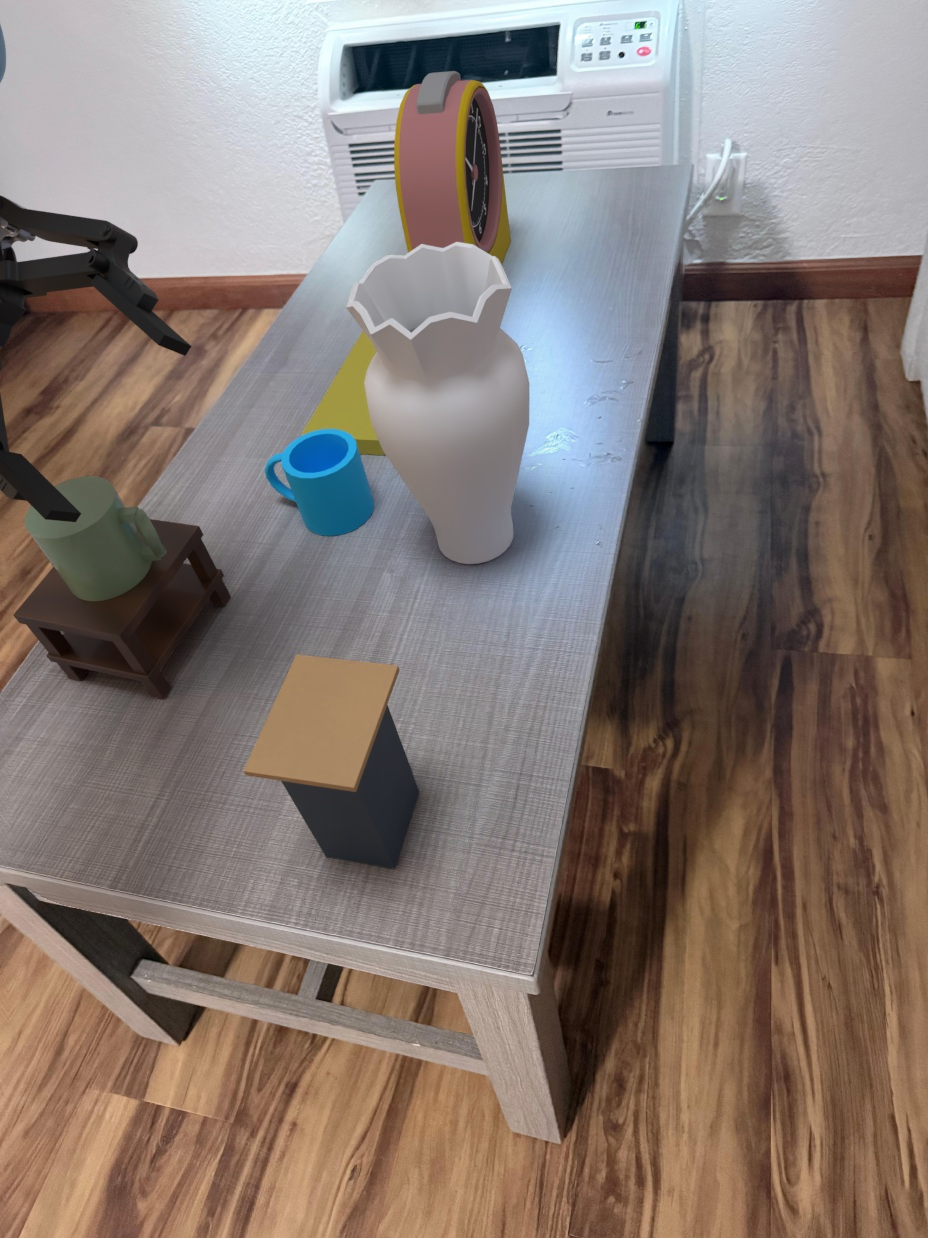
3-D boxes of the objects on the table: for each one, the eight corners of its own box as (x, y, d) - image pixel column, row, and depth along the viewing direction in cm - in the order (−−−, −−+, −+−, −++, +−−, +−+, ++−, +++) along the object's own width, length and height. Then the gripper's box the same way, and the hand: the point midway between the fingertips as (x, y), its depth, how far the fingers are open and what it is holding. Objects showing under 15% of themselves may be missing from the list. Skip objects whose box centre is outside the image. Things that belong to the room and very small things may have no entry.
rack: (165, 702, 84) (119, 635, 77) (65, 680, 88) (12, 614, 81) (234, 595, 92) (199, 525, 85) (140, 579, 96) (99, 511, 89)
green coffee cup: (57, 604, 81) (10, 542, 75) (84, 543, 86) (43, 480, 80) (162, 596, 79) (123, 531, 73) (183, 534, 84) (149, 469, 79)
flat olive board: (398, 456, 104) (453, 340, 118) (394, 441, 102) (451, 326, 117) (305, 450, 107) (369, 339, 122) (300, 436, 105) (366, 325, 120)
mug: (385, 491, 100) (369, 432, 94) (355, 540, 95) (336, 482, 89) (294, 478, 104) (272, 421, 98) (261, 525, 99) (236, 469, 93)
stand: (402, 889, 68) (354, 787, 57) (307, 872, 70) (242, 771, 59) (435, 777, 74) (398, 665, 63) (347, 765, 77) (296, 654, 65)
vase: (422, 490, 99) (361, 238, 77) (553, 491, 96) (527, 228, 74) (393, 587, 90) (314, 332, 68) (536, 591, 86) (501, 324, 65)
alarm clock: (481, 314, 121) (451, 107, 102) (418, 315, 124) (377, 112, 104) (511, 239, 134) (489, 42, 115) (454, 240, 137) (423, 48, 117)
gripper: (52, 112, 62) (258, 288, 57) (-114, 402, 67) (61, 582, 63) (-39, 51, 55) (188, 246, 50) (-216, 381, 60) (-26, 582, 56)
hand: (118, 433), depth 57 cm, fingers open, 13 cm apart
